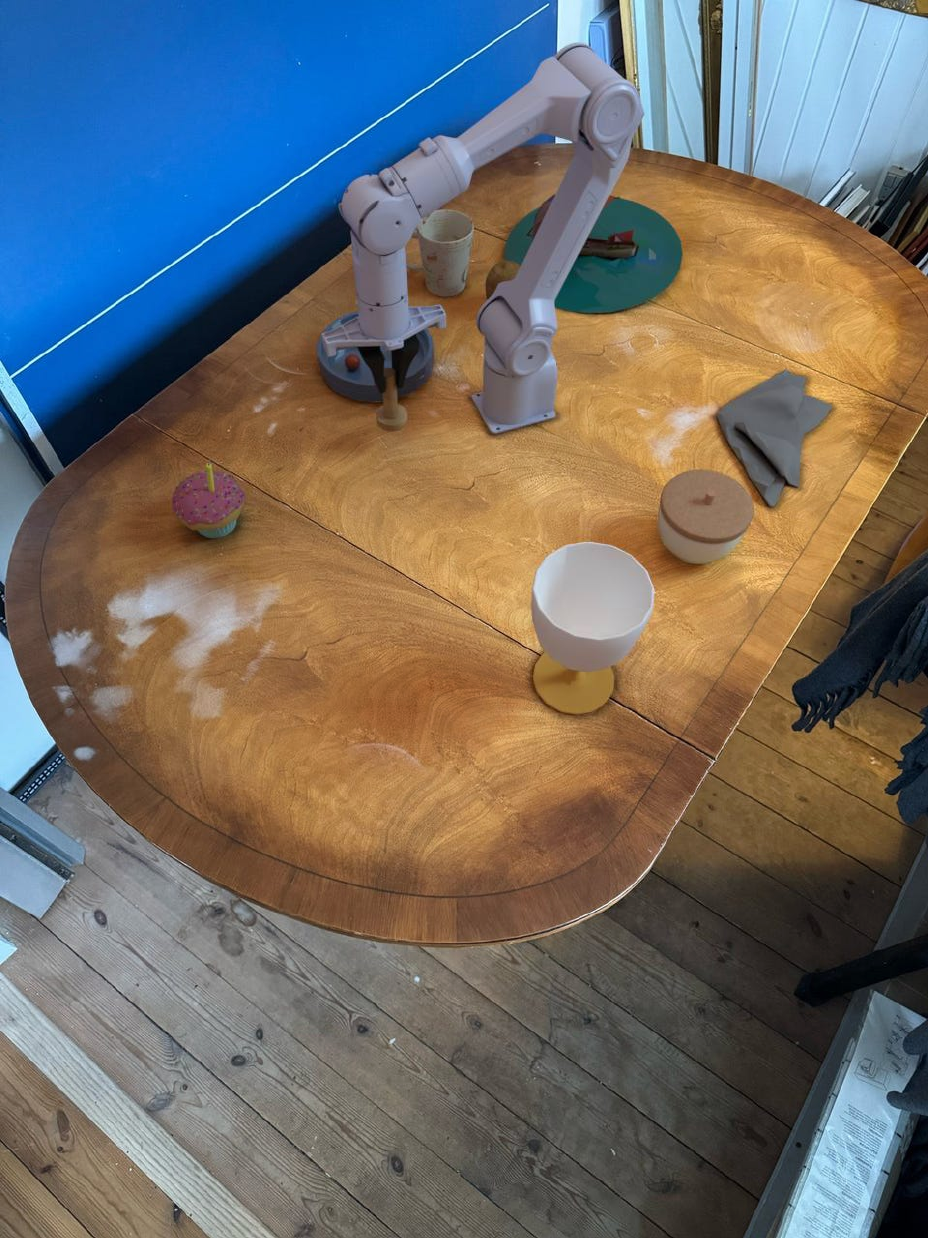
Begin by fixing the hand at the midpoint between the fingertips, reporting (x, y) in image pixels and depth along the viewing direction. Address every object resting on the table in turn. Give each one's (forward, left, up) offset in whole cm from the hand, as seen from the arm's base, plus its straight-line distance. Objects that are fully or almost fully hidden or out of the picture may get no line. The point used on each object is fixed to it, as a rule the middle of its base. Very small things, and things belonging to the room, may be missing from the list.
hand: (389, 385), depth 110 cm
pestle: (0, 0, -6) cm, 6 cm away
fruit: (-25, -21, -11) cm, 34 cm away
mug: (-17, -31, -11) cm, 37 cm away
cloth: (-48, +15, -11) cm, 52 cm away
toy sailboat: (-43, -28, -11) cm, 52 cm away
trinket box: (-29, +29, -11) cm, 42 cm away
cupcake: (+25, +5, -11) cm, 28 cm away
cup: (-7, +41, -11) cm, 43 cm away
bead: (+1, -16, -9) cm, 18 cm away
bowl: (-3, -16, -10) cm, 19 cm away
